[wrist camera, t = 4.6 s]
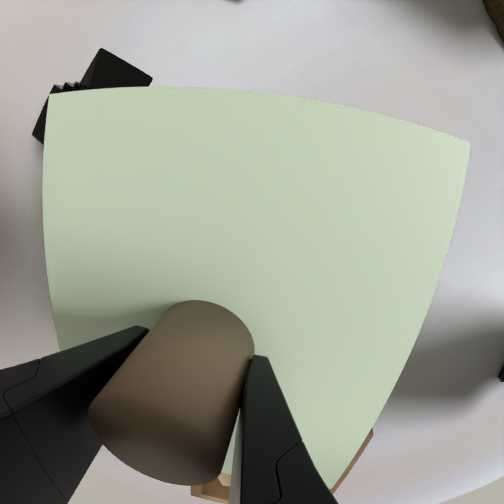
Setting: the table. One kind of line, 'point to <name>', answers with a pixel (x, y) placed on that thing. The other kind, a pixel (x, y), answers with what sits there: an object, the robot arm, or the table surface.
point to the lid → (242, 261)
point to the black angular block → (97, 82)
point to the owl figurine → (496, 13)
